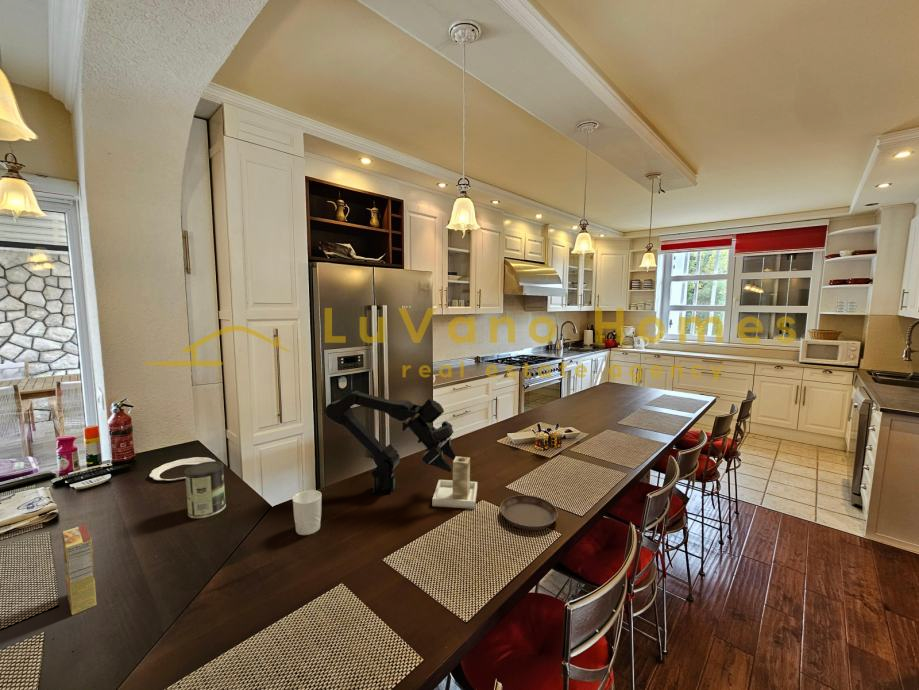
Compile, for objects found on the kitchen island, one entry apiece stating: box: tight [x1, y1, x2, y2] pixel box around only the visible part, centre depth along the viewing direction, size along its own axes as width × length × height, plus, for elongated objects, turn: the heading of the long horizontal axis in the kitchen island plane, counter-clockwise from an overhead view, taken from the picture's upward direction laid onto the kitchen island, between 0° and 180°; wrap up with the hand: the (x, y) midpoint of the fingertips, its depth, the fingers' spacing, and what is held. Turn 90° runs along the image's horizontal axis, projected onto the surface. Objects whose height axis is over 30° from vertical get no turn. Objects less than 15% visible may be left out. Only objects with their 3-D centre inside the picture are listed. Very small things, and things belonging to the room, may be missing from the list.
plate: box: [148, 456, 216, 482], centre depth 151 cm, size 21×21×2 cm
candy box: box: [61, 524, 97, 616], centre depth 85 cm, size 9×4×15 cm, turn 50°
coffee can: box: [184, 460, 227, 519], centre depth 123 cm, size 10×10×14 cm
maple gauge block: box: [452, 455, 471, 500], centre depth 132 cm, size 5×5×13 cm
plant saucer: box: [499, 494, 559, 532], centre depth 121 cm, size 18×18×3 cm
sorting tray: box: [431, 479, 478, 510], centre depth 133 cm, size 14×14×2 cm
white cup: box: [292, 489, 322, 536], centre depth 113 cm, size 8×8×10 cm
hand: (453, 465), depth 132 cm, fingers open, 9 cm apart
